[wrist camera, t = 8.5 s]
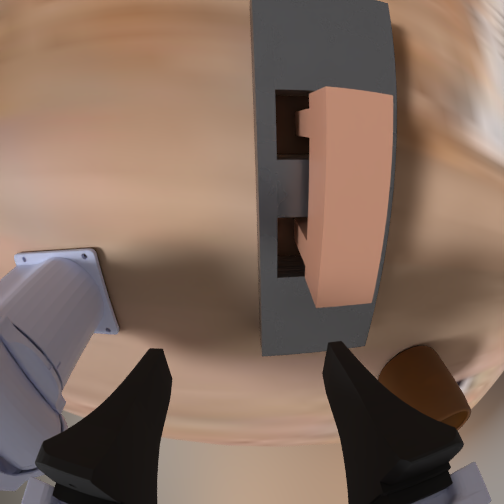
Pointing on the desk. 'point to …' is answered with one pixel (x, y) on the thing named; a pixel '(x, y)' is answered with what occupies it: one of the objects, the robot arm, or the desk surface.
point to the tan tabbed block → (345, 192)
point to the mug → (426, 385)
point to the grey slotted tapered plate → (297, 165)
